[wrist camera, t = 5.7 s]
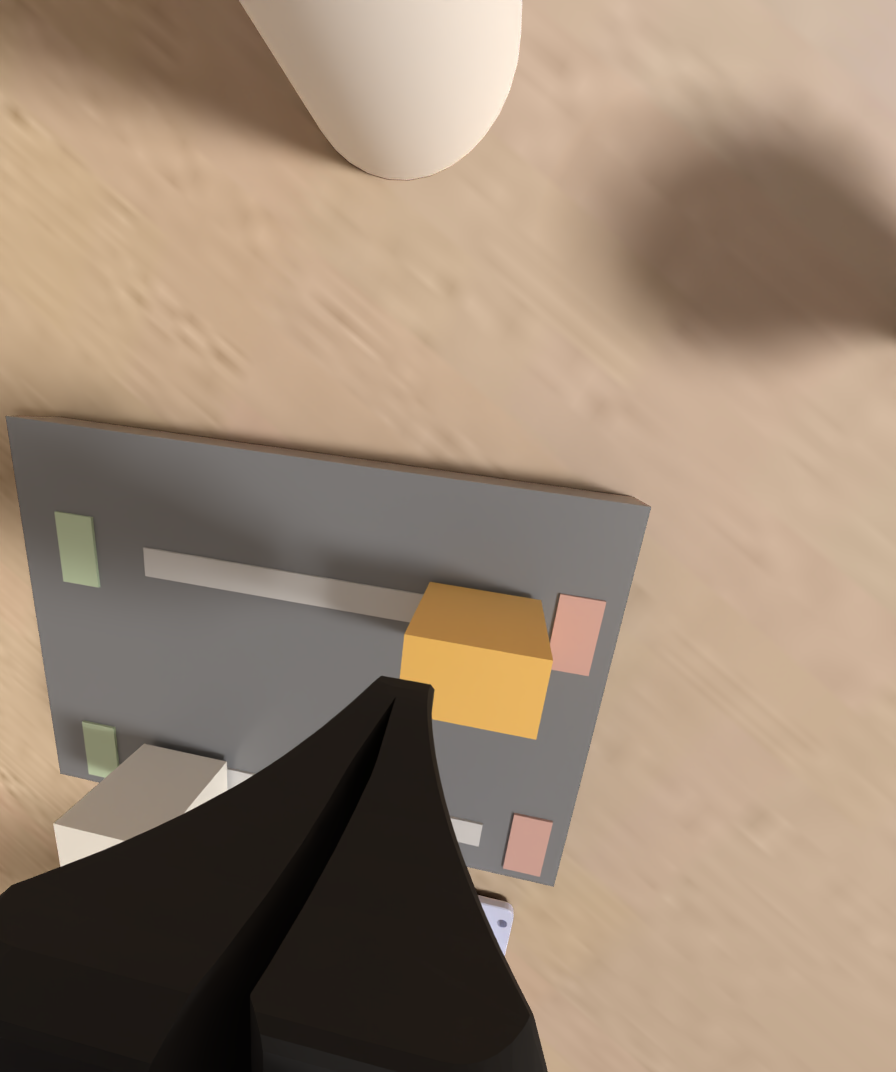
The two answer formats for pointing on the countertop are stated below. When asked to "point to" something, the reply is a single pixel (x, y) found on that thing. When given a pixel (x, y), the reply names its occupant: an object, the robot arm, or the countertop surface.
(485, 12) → the cylindrical container
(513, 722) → the orange rectangular block
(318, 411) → the countertop surface
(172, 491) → the gray slider board
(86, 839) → the cream handle
